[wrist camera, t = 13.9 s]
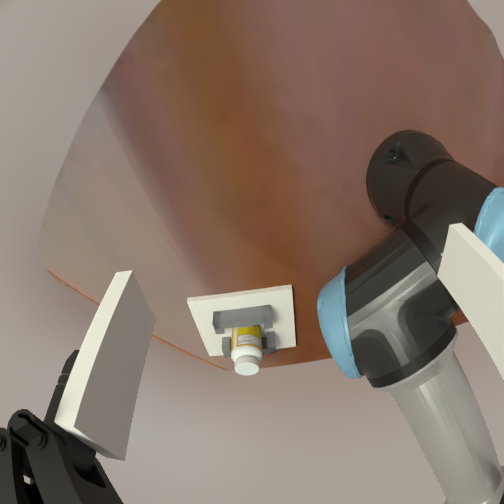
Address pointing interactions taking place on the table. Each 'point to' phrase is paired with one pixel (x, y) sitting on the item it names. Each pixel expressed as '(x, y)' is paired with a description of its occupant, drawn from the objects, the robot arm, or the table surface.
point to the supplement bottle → (246, 349)
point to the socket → (245, 318)
